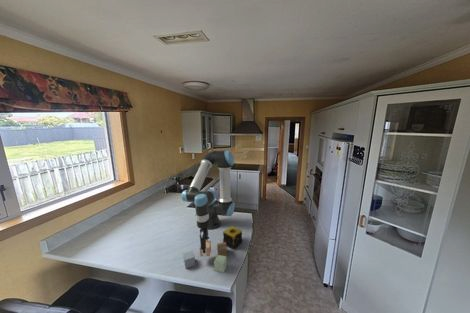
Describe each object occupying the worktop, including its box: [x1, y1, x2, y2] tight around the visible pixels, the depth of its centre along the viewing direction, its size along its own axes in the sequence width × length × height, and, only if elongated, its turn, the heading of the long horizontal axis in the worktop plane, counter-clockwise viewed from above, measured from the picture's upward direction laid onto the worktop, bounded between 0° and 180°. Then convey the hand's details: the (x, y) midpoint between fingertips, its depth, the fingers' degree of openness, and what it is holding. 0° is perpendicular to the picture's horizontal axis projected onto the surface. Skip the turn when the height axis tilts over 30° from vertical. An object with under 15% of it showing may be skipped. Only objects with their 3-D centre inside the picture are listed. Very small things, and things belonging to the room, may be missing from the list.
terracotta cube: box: [199, 240, 212, 258], centre depth 113 cm, size 6×6×6 cm
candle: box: [222, 225, 243, 250], centre depth 129 cm, size 10×10×10 cm
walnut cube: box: [216, 242, 228, 257], centre depth 119 cm, size 6×6×6 cm
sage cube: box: [213, 254, 228, 273], centre depth 107 cm, size 6×6×6 cm
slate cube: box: [182, 250, 196, 270], centre depth 112 cm, size 6×6×6 cm
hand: (205, 252), depth 114 cm, fingers closed on terracotta cube, 6 cm apart
